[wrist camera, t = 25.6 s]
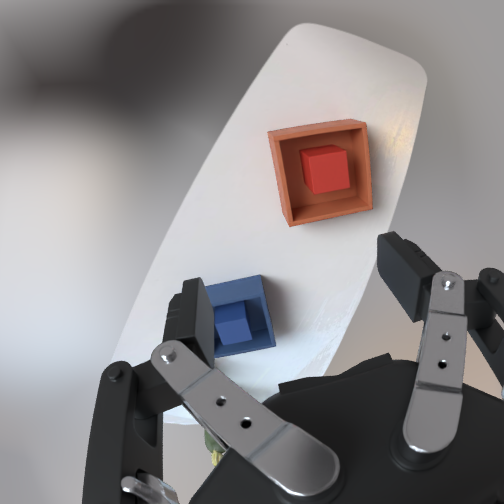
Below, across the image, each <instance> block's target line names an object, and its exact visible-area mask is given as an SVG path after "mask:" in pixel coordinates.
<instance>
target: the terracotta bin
mask: <svg viewBox="0 0 504 504" xmlns="http://www.w3.org/2000/svg"><path fill="white" fill-rule="evenodd" d="M366 127H367V126H366V123H365V122H361V121H357V120H353V119H346V120H338V121H331V122H323V123H316V124H310V125H303V126H297V127H291V128H286V129H280V130H275V131H269V132H267V133H268V138H269V143H270V148H271V153H272V158H273V163H274V168H275V173H276V179H277V184H278V190H279V195H280V201H281V206H282V212H283V215H284V217H285V219H286V221H287V223H288V225H289V227H292V226H296V225H301V224H305V223H310V222H314V221H319V220H324V219H328V218H333V217H338V216H342V215H347V214H352V213H357V212H361V211H366V210H371V209H373V204H372V183H371V168H370V156H369V145H368V135H367V128H366ZM330 144H334V145H336V146H338V147H340V148H342V149H344V150H346V153H347V162H348V171H349V182H350V188H346V189H341V190H335V191H330V192H325V193H320V194H315V195H314V194H313V193H312V192H311V191H310V189H309V188H308V187H307V186H306V185H305V183H304V178H303V171H302V165H301V159H300V153H299V150H301V149H306V148H312V147H318V146H324V145H330Z"/></svg>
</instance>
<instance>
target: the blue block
mask: <svg viewBox="0 0 504 504" xmlns="http://www.w3.org/2000/svg"><path fill="white" fill-rule="evenodd" d="M215 326H216V329H217V331H218V334H219V336H220V339H221V341H222V344H223V345H228V344H233V343H238V342H243V341H248V340H253V339H252V331H251V323H250V318H249V314H248V311H247V308H246V304H245V301H244V300H243V301H238V302H233V303H228V304H224V305H219V306H215Z"/></svg>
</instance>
